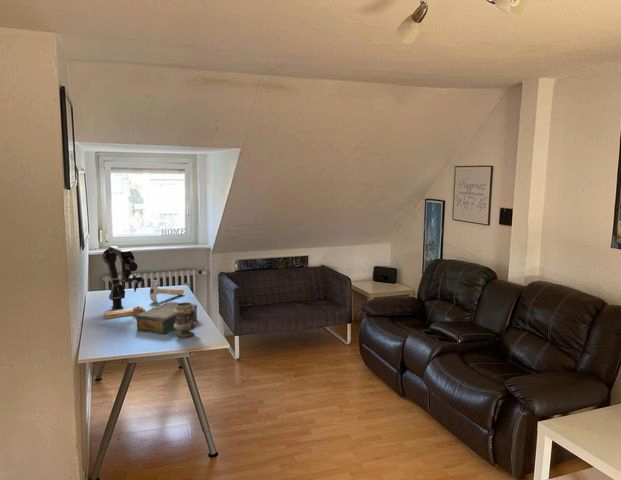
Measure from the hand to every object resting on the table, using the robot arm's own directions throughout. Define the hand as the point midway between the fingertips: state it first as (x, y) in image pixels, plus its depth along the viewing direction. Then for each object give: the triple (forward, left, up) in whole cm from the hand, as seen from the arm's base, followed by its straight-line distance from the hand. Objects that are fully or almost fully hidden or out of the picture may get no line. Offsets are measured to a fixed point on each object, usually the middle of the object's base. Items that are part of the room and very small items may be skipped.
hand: (127, 292), depth 319 cm
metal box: (+42, +14, -14) cm, 47 cm away
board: (+4, -3, -13) cm, 14 cm away
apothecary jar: (+67, +17, -13) cm, 70 cm away
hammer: (-23, +32, -13) cm, 41 cm away
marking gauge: (+9, +4, -13) cm, 16 cm away
